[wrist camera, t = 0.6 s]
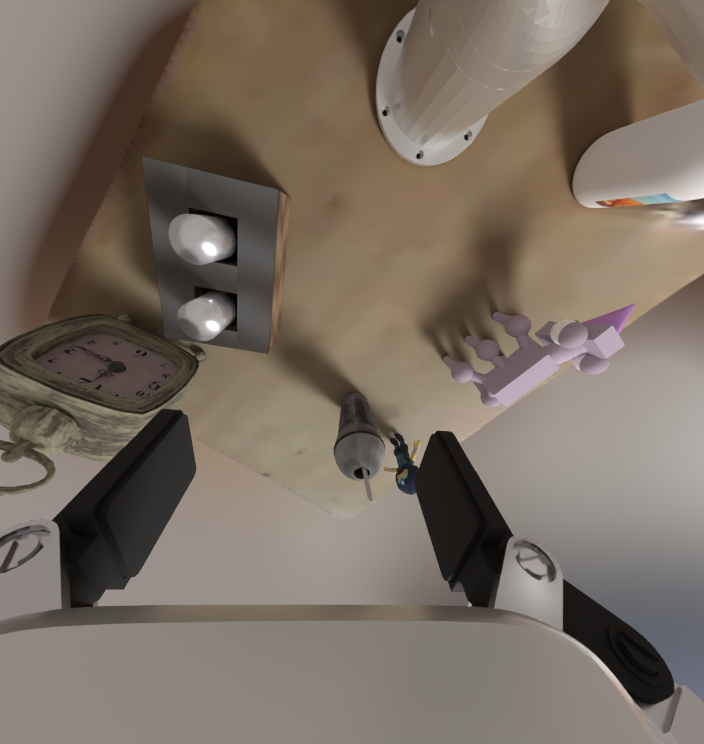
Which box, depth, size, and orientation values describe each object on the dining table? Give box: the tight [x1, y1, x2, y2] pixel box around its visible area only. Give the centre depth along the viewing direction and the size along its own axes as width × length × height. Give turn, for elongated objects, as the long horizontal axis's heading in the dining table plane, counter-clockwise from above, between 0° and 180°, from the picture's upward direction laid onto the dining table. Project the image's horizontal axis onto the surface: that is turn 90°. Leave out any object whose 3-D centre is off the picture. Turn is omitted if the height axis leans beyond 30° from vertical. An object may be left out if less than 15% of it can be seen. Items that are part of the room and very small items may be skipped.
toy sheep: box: [443, 304, 635, 407], centre depth 37 cm, size 20×11×14 cm, turn 138°
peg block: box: [142, 156, 291, 354], centre depth 32 cm, size 18×12×8 cm
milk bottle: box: [572, 99, 704, 208], centre depth 24 cm, size 8×8×20 cm
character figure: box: [384, 434, 421, 495], centre depth 47 cm, size 9×4×12 cm, turn 140°
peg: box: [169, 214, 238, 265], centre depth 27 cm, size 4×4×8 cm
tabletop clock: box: [0, 314, 206, 495], centre depth 30 cm, size 14×9×25 cm, turn 56°
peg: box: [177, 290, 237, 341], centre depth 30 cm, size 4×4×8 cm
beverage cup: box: [334, 393, 385, 501], centre depth 39 cm, size 7×7×20 cm
